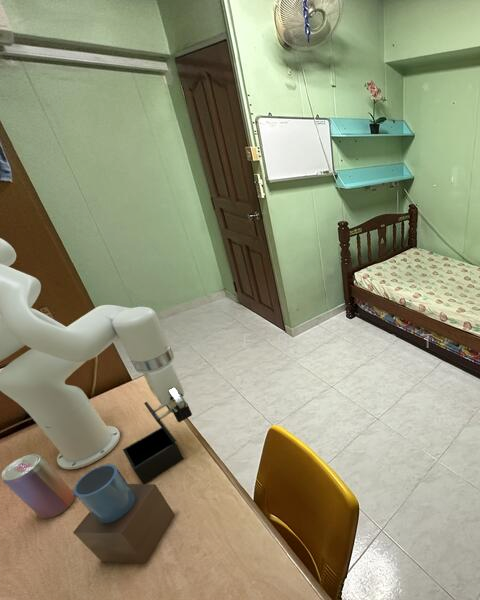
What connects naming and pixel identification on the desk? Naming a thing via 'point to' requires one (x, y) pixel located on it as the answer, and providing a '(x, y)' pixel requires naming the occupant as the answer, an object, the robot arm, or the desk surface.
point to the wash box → (153, 455)
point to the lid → (158, 418)
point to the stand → (129, 528)
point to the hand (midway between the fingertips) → (177, 408)
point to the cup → (105, 493)
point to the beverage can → (38, 485)
